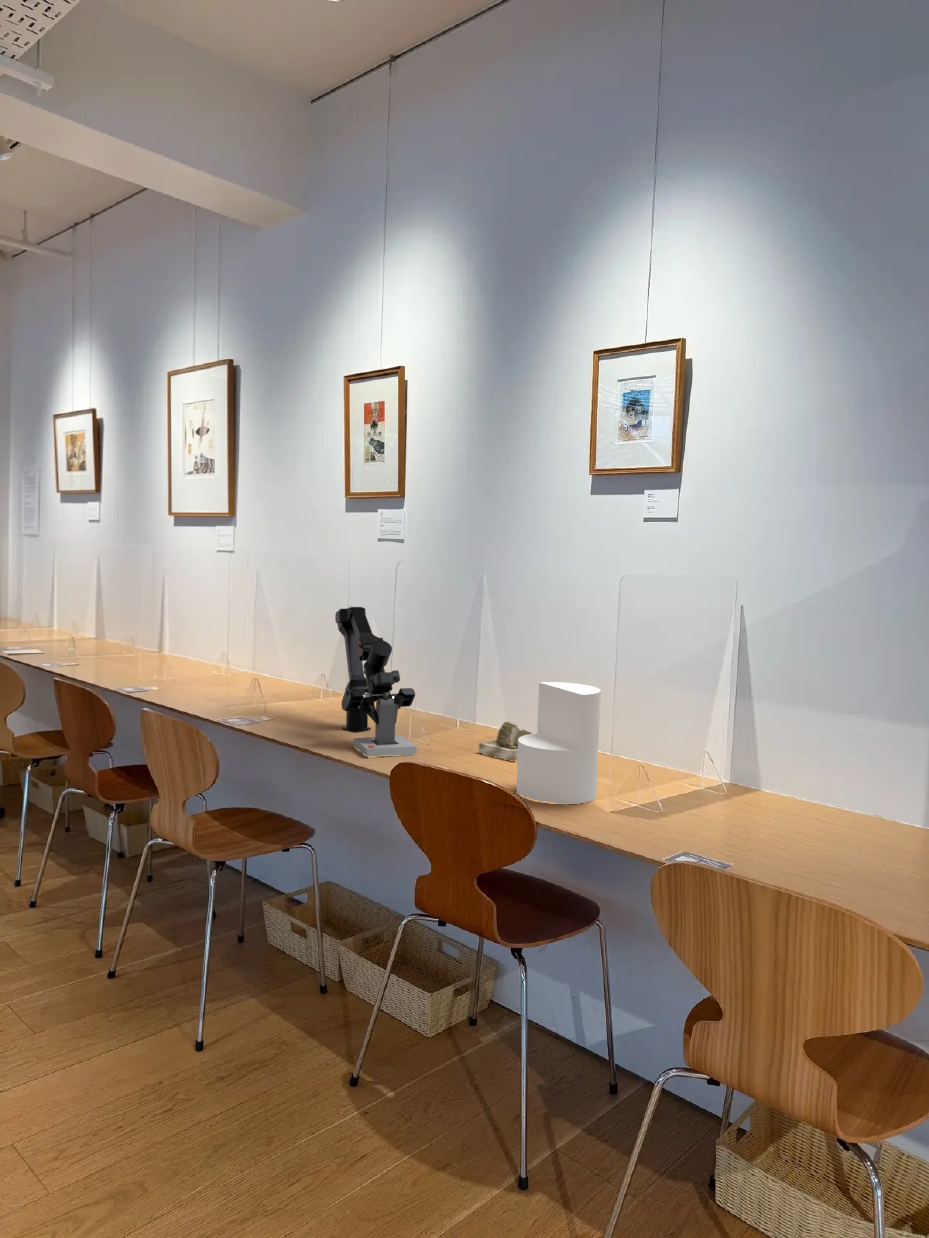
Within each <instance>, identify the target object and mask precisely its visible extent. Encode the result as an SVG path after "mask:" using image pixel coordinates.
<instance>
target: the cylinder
mask: <svg viewBox="0 0 929 1238" xmlns="http://www.w3.org/2000/svg"><path fill="white" fill-rule="evenodd" d="M601 692H602V690H601V689H600V688H598V687H596V686H594V685H588V684H581V683H575V682H574V683H573V682H563V681H562V682H561V681H560V682H559V681H558V682H556V681H549V682H548V681H541V682H539V683H538V700H537V701H538V703H537V705H538V706H537V708H538V709H537V711H538V712H537V733H533V734H529V735H524V736H521V737H520V738H518V760H517V762H516V763H517V765H516V768H517V769H516V790H517V792H516V793H518V794H521V795H523V796H524V797H529V798H531V799H534V800H539V801H549V802H555V803H564V804H566V803H567V804H577V803H578V805H580V804H579V803H584V804H587V803H586V802H588V803H590V802H589V801H591V802H593V801H595V800H594V799H597V790H598V770H599V769H598V766H599V765H598V764H599V746H600V745H599V741H600V721H601V720H600V718H601V717H600V716H601Z"/></svg>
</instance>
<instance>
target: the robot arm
mask: <svg viewBox="0 0 929 1238" xmlns="http://www.w3.org/2000/svg"><path fill="white" fill-rule="evenodd" d="M334 616H335V619H334V620H335V621H334V622H335V623H336V624H337V630H338V631H339V632H340V634H341V635H342V636H343V638H344V645H345V653H346V654H345V655H346V662H347V671H348V680H349V681H348V683H347V684H346V686H345V690H344V694H343V697H342V698H341V709H342V710H343V711H344V712H346V715H345V716H346V719H345V721H346V723H345V724H346V726H342V728H341V729H343V730H345V729H348V730H347V731H349V730H351V731H350V732H353V731H354V732H353V733H357V732H364V731H369V730H368V729H370V730H372V728H371V727H369V726H368V724H369V721H368V720H369V718H370V719H371V720H372V721H373V722H374V724H377V725H378V724H379V720H378V715H377V712H376V704H375V703H376V702H378V699H383V698H384V692H389V698H391V699H392V700H394V704H396V713H395V725H396V724H397V718H398V712H399V710H400V709H401V708H405V707H406V708H408V707H410V706H412V704H413V702H414V699H415V697H416V692H415V690H414V688H412V687H406V688H405V687H403V688H401V687H400V688H399V690H398V693H391V691H392V690H393V685H395V683H397V684H398V683H399V682H400V681H401V676H400V672H399V670H392V671H390V672H388V671H386V670H385V667H386V666H387V665H388V662H389V660H390V657H391V654H392V651H393V646H392V645H391V644H390V643H389V642H388V641H385V640H384V638H383V637H378V636H376V634H374V633H373V631H372V628H371V626H370V624H369V620H368V617H367V612H366V608H365V607H363V606H350V607H347V608H339V609H338V610H337V611H336V612H335V615H334ZM363 661H365V662H364V663H363ZM368 717H369V718H368ZM363 730H364V731H363Z"/></svg>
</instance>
